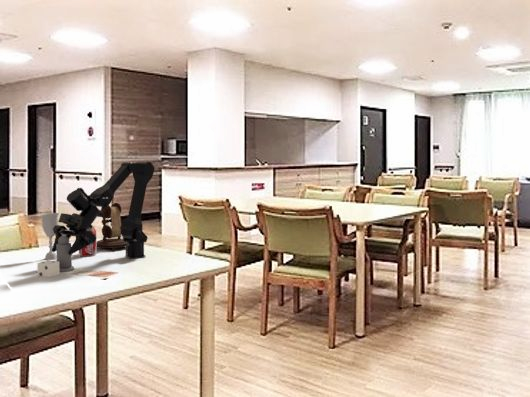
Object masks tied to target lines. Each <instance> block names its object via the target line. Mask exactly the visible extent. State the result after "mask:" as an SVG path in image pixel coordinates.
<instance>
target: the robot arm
mask: <svg viewBox="0 0 530 397" xmlns="http://www.w3.org/2000/svg"><path fill="white" fill-rule="evenodd" d="M154 172H155V166H154V164H153V163H152V162H151V161H136V162H131V161H130V162H129V161H124V162H122V163H121V164H120V166H119V168H118V169H117V170H116V171H115V172H114V173H113V174H112V176H111V177H110V178H109V179H108V180H107V181H106V182H105V183H104V184H103V185H102V186H100V187H98V188H96V189H95V190H93V191H92V192H91V193H90V194H87V193H86V192H85V190H84V189H83V187H77V188H76V189H75V190H73V191H71V192H70V193H69V194H68V195H67V196H66V200H67V202H68V203H69V204H70V205H71V206H72V208H74V209H75V211H78V212H79V213H72V214H69V213H62V212H61V213H60V214H59V217H58V223H62V224H58V225H55V226H54V228H53V229H52V230H53V231H54V233H55V235H54V237H55V238H54V241H53V244H52V246H53V247H52V251H53V252H55V253H56V252H57V250H56V244H59V243H58V239H59V238H60V237H61V236H67V237H68V238H69V240H70V239H71V238H72V237H75V240H74V242H73V243H72V244H71V248H70V250H69V252H68V254H69V255H71V256H72V255H73V254H75V253H77V252H79V250H80V249H82V248H84V247H86V246H88V245H91V244H94V243H95V241H96V242H97V235H96V236H95V235H94V234H93V233H92V232H91V231H90V229H88V228H92V227H93V225H92V224H93V223H94V221H95V220H96V219H97V218H102V217H103V210H101V209H99V207H100V208H101V207H107V206H110V204H111V203H112V202H113V200H114V196H115V194H116V191H118V189H119V188H120V187H121V185H123V183H124V182H125V181H126V180H127V179H128V177H129V176H130V175H131V174H132V176H133V181H134V185H133V190H132V193H131V200H130V206H129V209H128V215H127V217H126V218H125V219H121V227H120V229H121V238H122V239H123V240H124V241H125V242H127V246H125V247H124V248H125V257H126V258H129V259H137V258H138V259H139V258H146V254H145V243H147V242H148V236H147V235H146V233H145V232H144V231H143V229H144V228H143V227H144V225H143V223H142V219H141V216H142V212H143V206H144V201H145V195H146V191H147V185H148V184H149V182H150V181H151V180H152V178H153V176H154ZM63 224H65V225H63Z"/></svg>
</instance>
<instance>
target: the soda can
mask: <svg viewBox="0 0 530 397" xmlns="http://www.w3.org/2000/svg"><path fill="white" fill-rule="evenodd" d="M92 226H93V225H92ZM88 229H90V231H91V232H92V233H93V234H94V235H95V236H96V237H97V230H96V228H95V226H93V227H92V228H88ZM97 251H98V248H97V240H96V241H95V243H94V244H91V245H88V246H86V247H84V248H82V249H80V250H78V253H79V255H80V257H82V258H90V257H94V256H96V255H97Z"/></svg>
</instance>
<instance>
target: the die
mask: <svg viewBox="0 0 530 397" xmlns="http://www.w3.org/2000/svg"><path fill="white" fill-rule="evenodd" d="M36 264H37V277H45V278H52V277H55V276H58V275H60V274H61V273H60V269H59V261H57V260H43V261H41V262H38V263H36Z"/></svg>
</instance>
